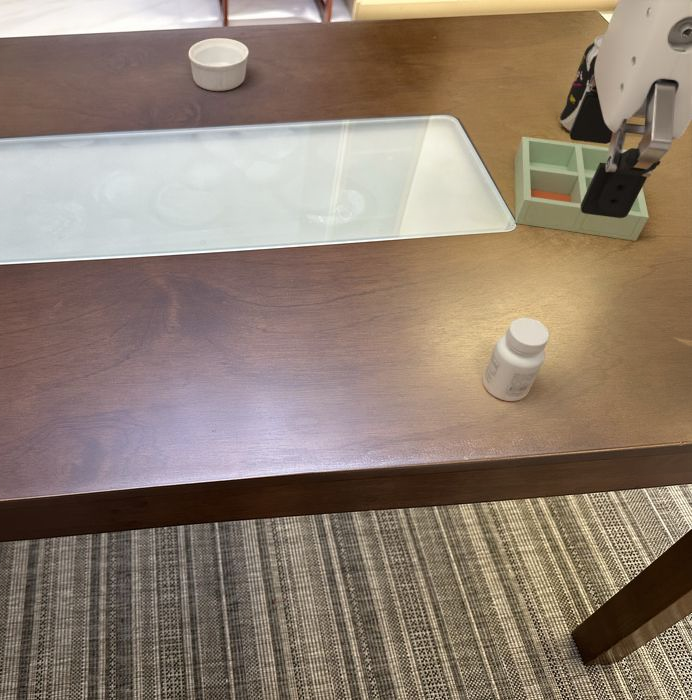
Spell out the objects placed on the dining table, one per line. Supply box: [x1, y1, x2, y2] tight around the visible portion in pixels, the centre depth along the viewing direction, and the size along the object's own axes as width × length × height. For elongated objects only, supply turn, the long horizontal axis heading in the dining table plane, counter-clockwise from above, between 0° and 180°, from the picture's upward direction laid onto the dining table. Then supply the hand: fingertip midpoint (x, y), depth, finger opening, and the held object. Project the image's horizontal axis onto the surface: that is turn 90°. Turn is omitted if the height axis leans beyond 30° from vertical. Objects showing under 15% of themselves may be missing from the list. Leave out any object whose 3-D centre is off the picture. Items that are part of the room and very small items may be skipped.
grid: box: [514, 136, 650, 242], centre depth 88 cm, size 14×14×4 cm
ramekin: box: [188, 37, 250, 92], centre depth 108 cm, size 9×9×4 cm
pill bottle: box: [482, 317, 550, 402], centre depth 67 cm, size 4×4×8 cm
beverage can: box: [559, 34, 605, 132], centre depth 96 cm, size 6×6×12 cm
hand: (595, 174), depth 56 cm, fingers open, 9 cm apart
